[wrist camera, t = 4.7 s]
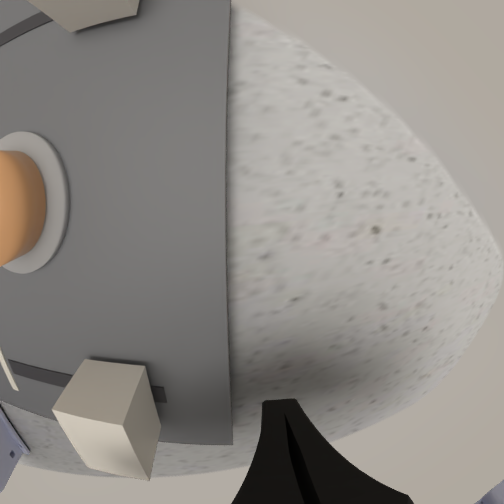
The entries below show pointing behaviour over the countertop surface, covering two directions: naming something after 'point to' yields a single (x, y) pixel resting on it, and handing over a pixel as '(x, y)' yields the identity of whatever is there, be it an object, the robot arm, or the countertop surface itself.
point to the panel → (122, 208)
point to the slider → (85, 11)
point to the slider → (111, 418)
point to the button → (19, 205)
